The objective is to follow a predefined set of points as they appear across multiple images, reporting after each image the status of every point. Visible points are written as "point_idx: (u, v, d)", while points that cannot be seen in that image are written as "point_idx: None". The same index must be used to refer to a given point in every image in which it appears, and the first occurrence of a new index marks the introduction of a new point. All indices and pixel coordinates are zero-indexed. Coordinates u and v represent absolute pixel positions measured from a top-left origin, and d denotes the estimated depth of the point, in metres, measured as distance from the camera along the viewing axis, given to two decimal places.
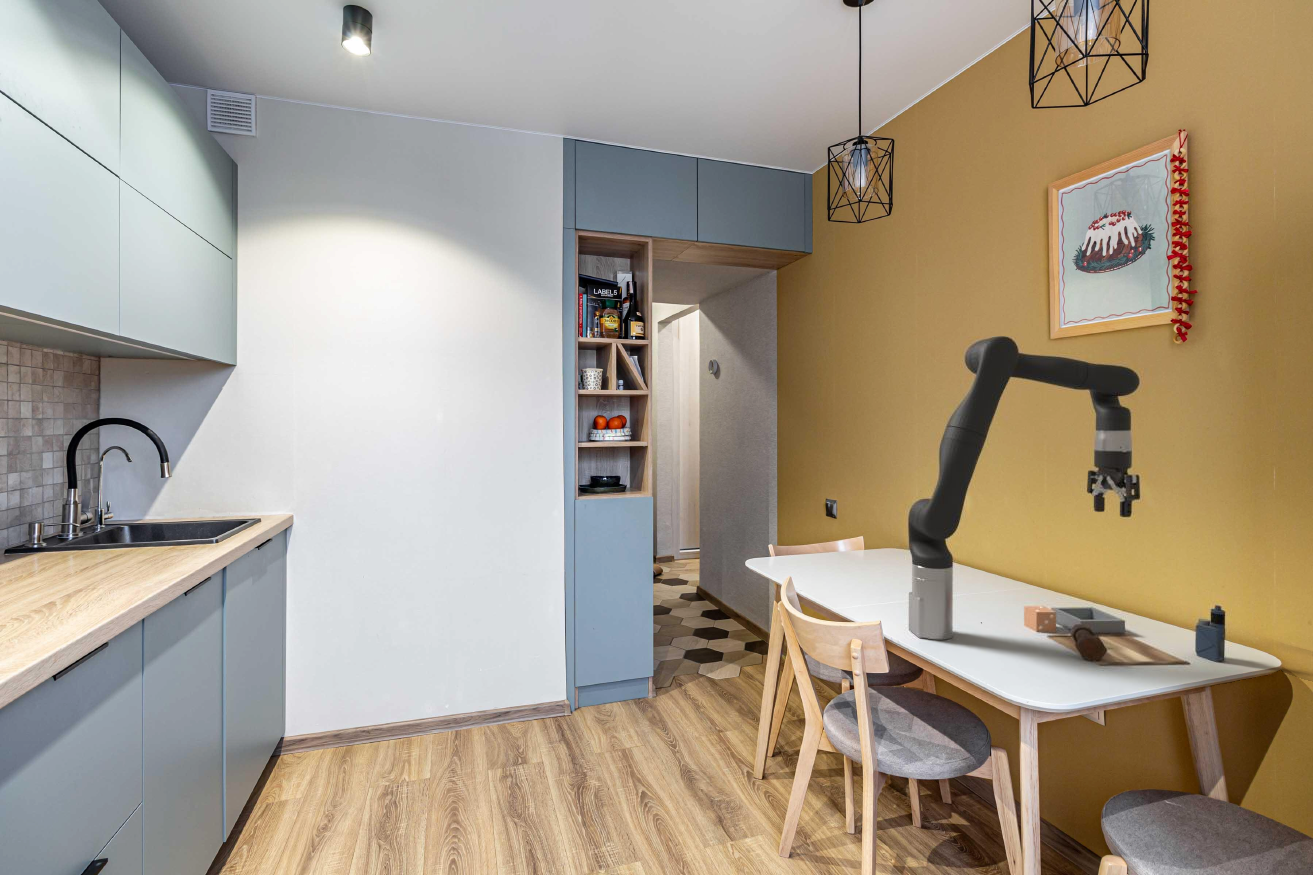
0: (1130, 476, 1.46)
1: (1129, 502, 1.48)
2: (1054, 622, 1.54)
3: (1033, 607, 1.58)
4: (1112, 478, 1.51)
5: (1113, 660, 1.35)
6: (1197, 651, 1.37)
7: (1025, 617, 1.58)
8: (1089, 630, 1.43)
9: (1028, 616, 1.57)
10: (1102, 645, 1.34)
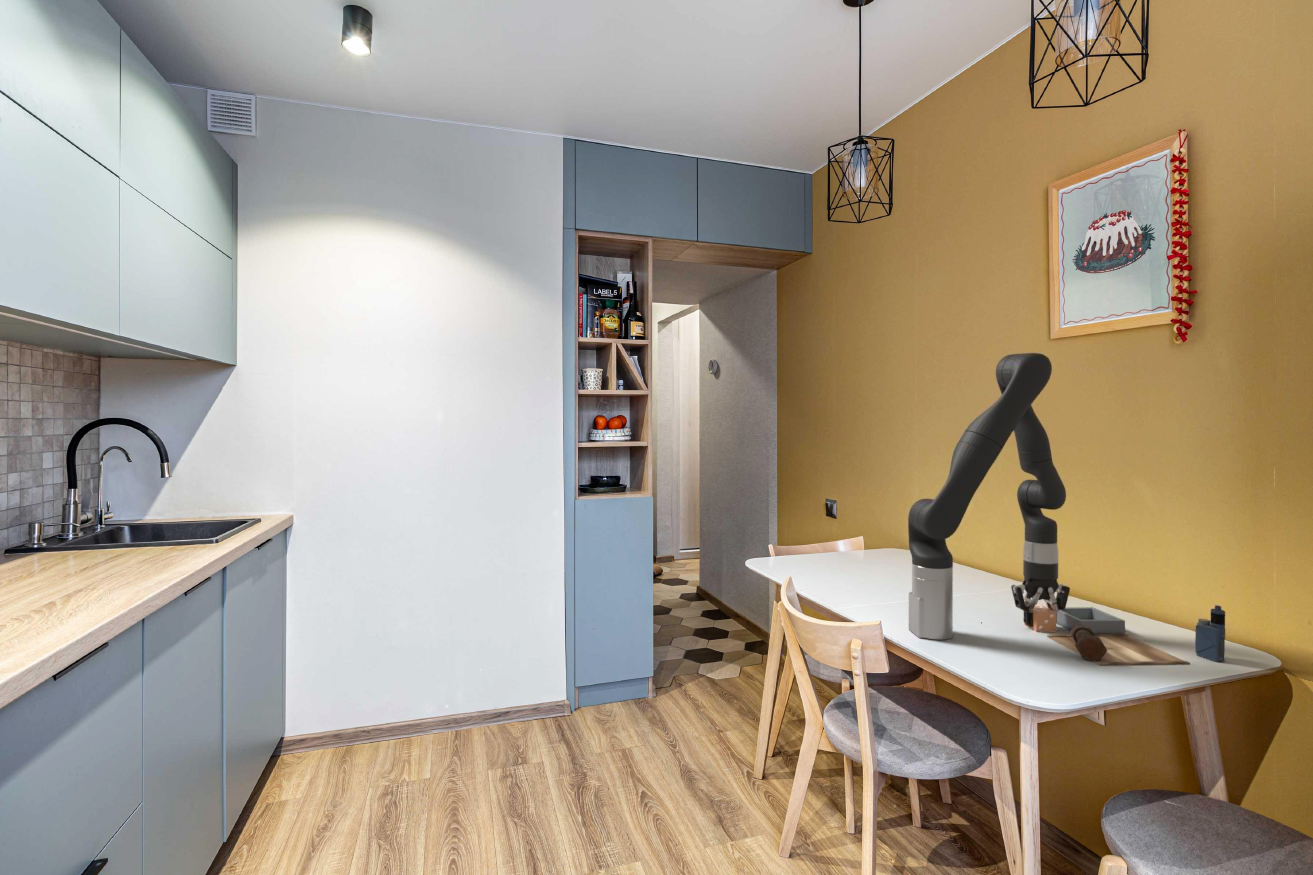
0: None
1: None
2: (1054, 622, 1.54)
3: None
4: None
5: (1113, 660, 1.35)
6: (1197, 651, 1.37)
7: None
8: (1089, 630, 1.43)
9: None
10: (1102, 645, 1.34)
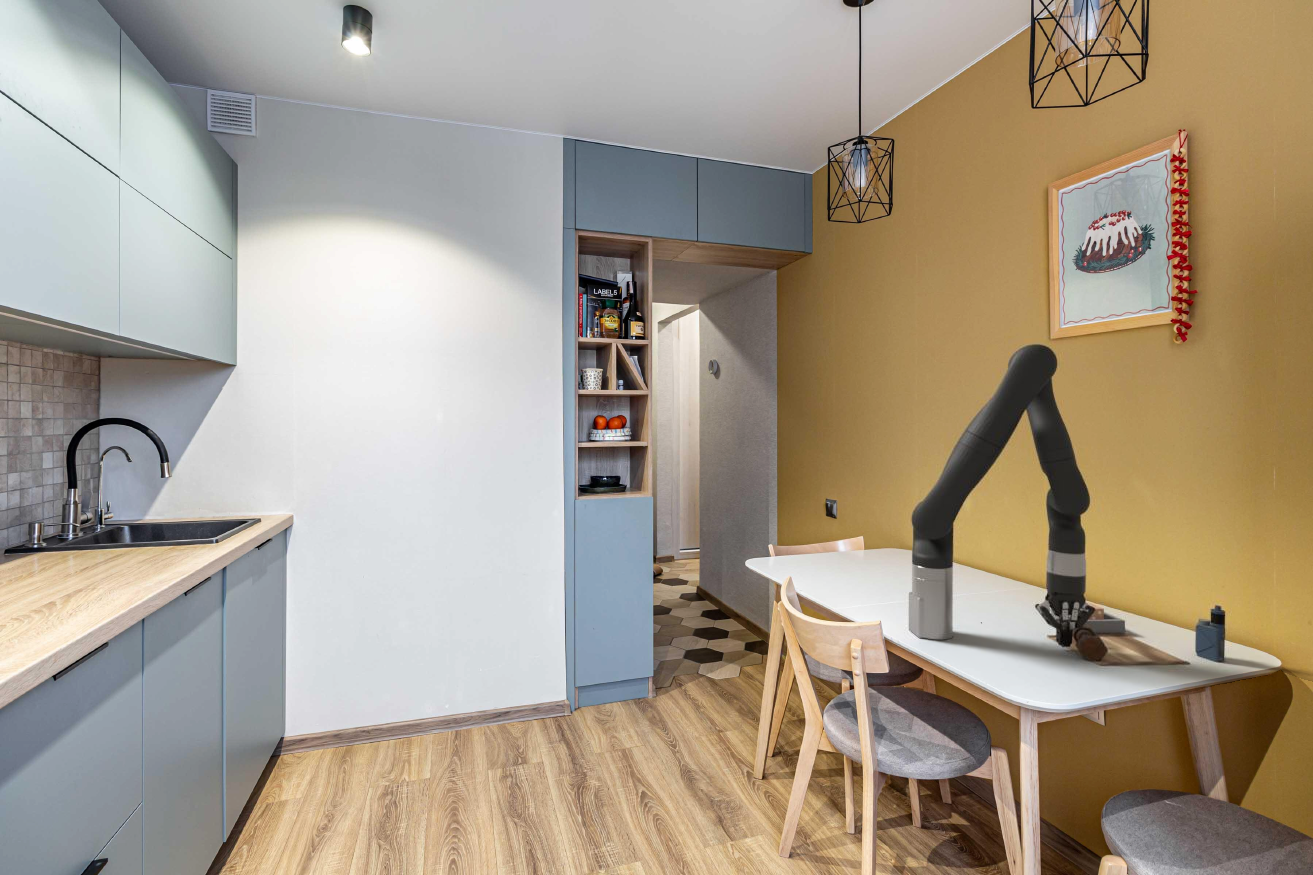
0: None
1: None
2: (1101, 619, 1.54)
3: None
4: None
5: (1113, 660, 1.35)
6: (1197, 651, 1.37)
7: None
8: (1090, 630, 1.43)
9: None
10: (1103, 645, 1.34)
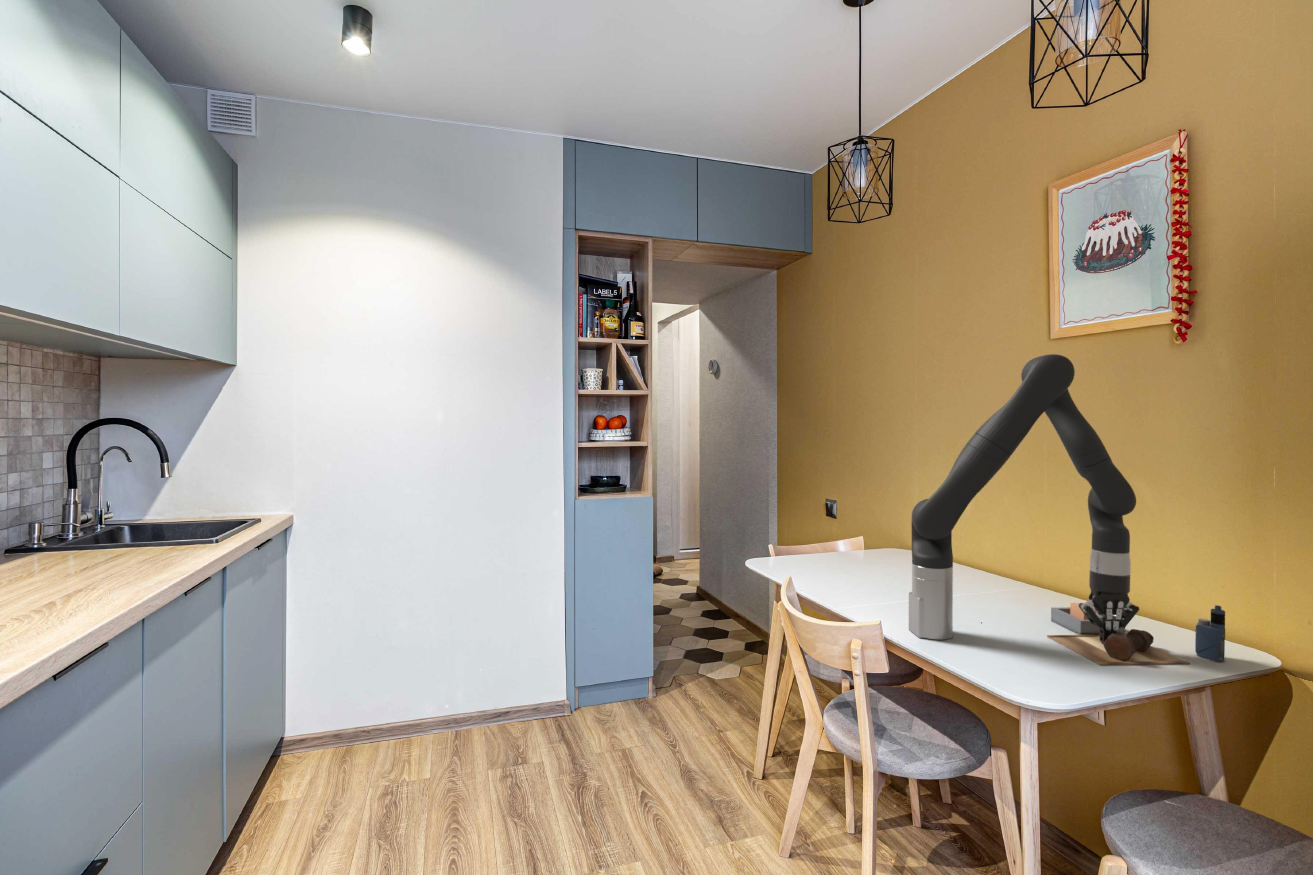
0: None
1: None
2: None
3: None
4: None
5: (1113, 660, 1.35)
6: (1197, 651, 1.37)
7: (1071, 614, 1.59)
8: (1142, 635, 1.39)
9: (1075, 613, 1.57)
10: (1128, 646, 1.34)
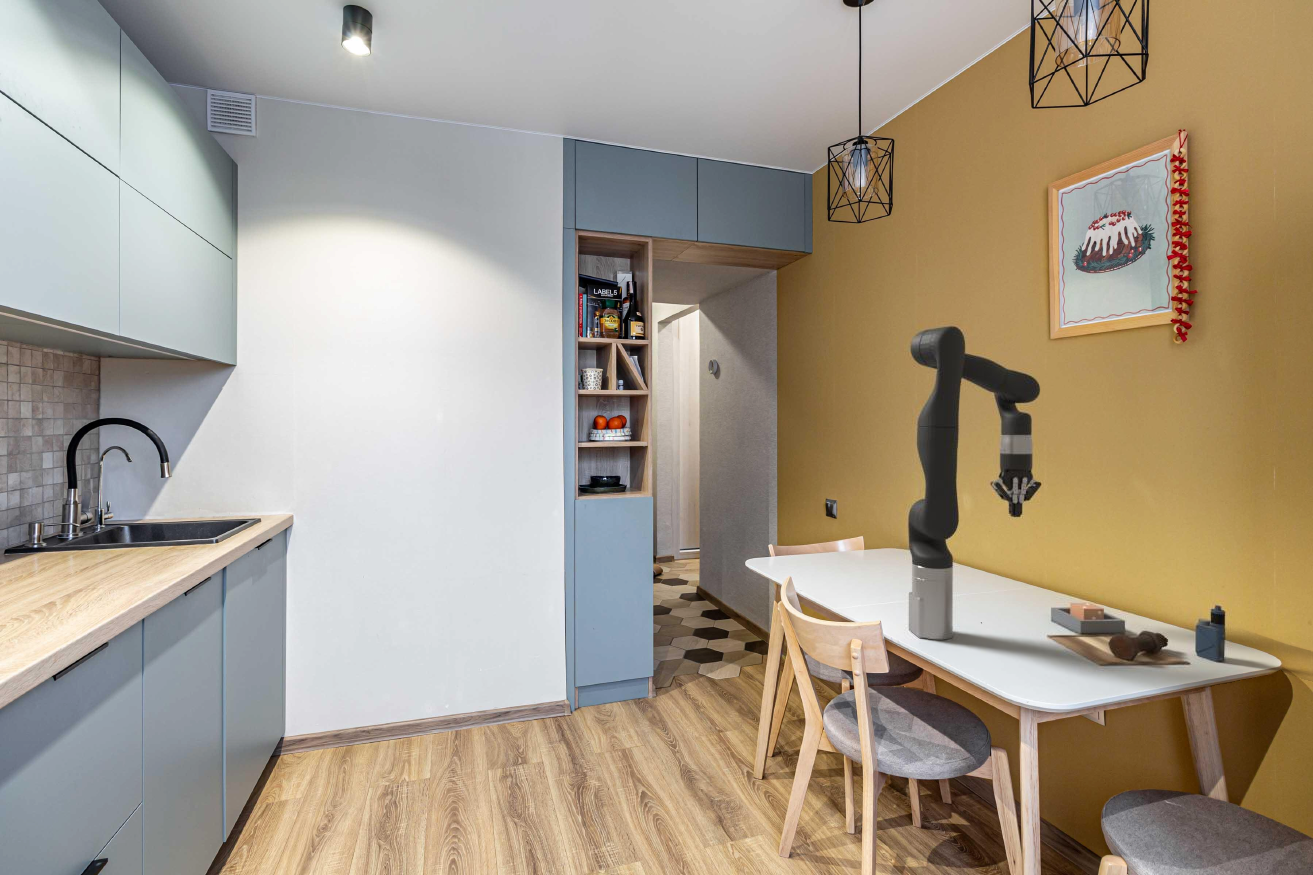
0: None
1: None
2: (1101, 619, 1.54)
3: (1079, 604, 1.58)
4: None
5: (1113, 660, 1.35)
6: (1197, 651, 1.37)
7: (1071, 614, 1.59)
8: (1152, 637, 1.38)
9: (1075, 613, 1.57)
10: (1131, 645, 1.34)
